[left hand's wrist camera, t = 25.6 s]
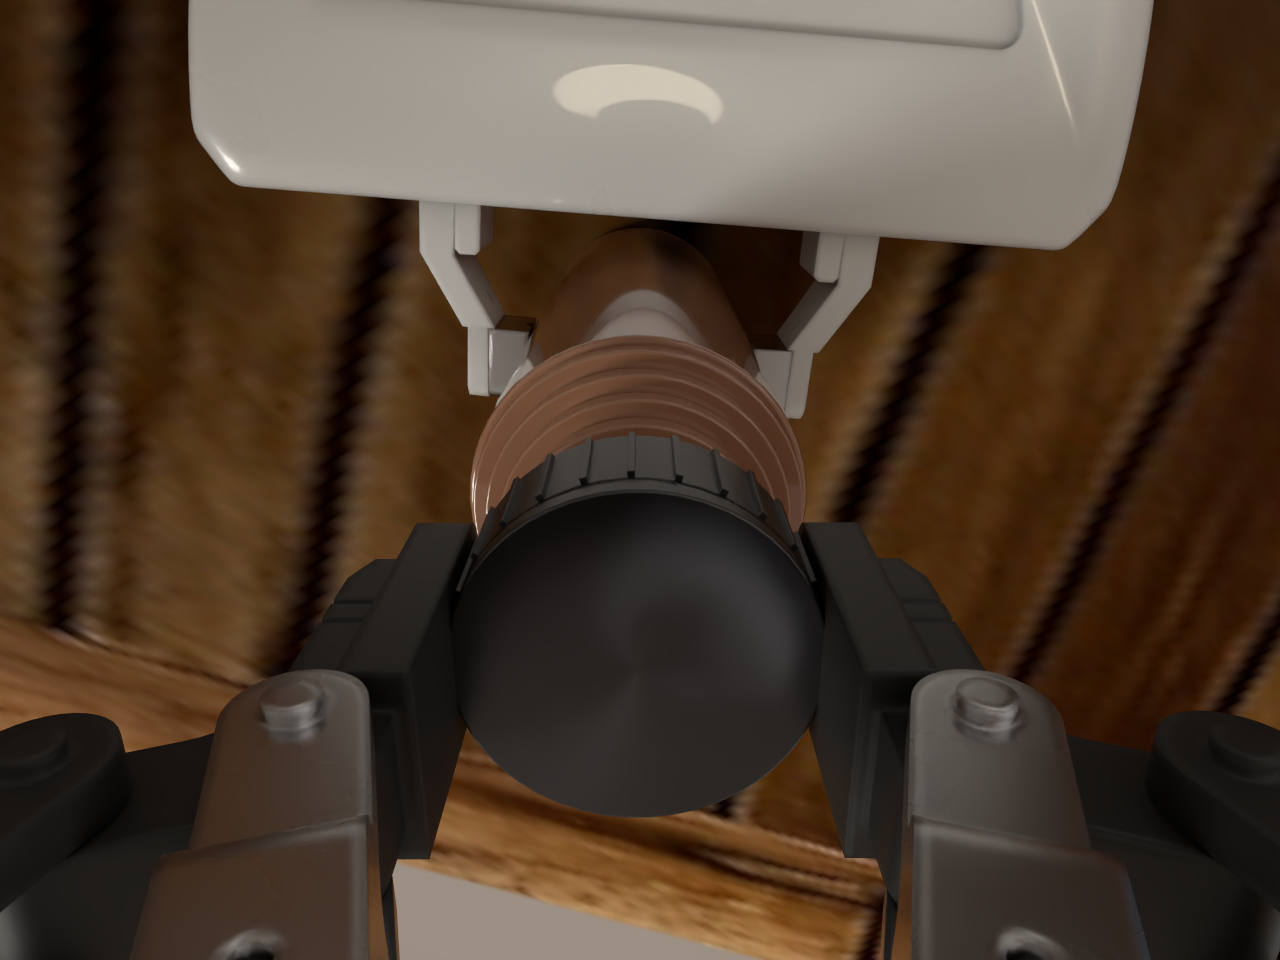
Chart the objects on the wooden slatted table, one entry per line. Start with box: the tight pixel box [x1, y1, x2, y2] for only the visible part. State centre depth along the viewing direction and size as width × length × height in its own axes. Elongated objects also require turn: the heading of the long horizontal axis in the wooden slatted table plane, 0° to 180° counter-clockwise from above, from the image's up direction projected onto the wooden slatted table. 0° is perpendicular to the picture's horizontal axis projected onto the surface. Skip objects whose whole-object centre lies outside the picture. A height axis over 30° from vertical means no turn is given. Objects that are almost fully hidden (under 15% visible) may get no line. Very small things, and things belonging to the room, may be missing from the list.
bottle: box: [470, 228, 807, 536], centre depth 20 cm, size 6×6×19 cm
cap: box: [450, 432, 824, 817], centre depth 11 cm, size 4×4×2 cm
